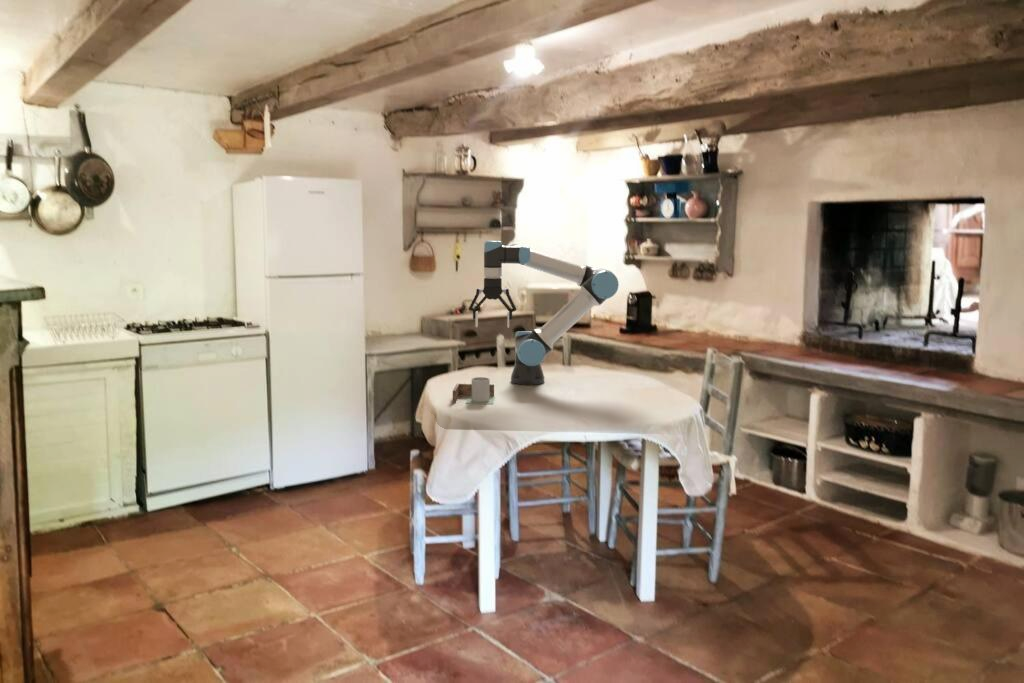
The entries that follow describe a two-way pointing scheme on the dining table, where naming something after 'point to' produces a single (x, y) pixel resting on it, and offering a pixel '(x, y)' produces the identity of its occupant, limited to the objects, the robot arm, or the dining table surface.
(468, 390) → the corner walls
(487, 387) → the cup
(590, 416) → the dining table surface
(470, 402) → the mat
